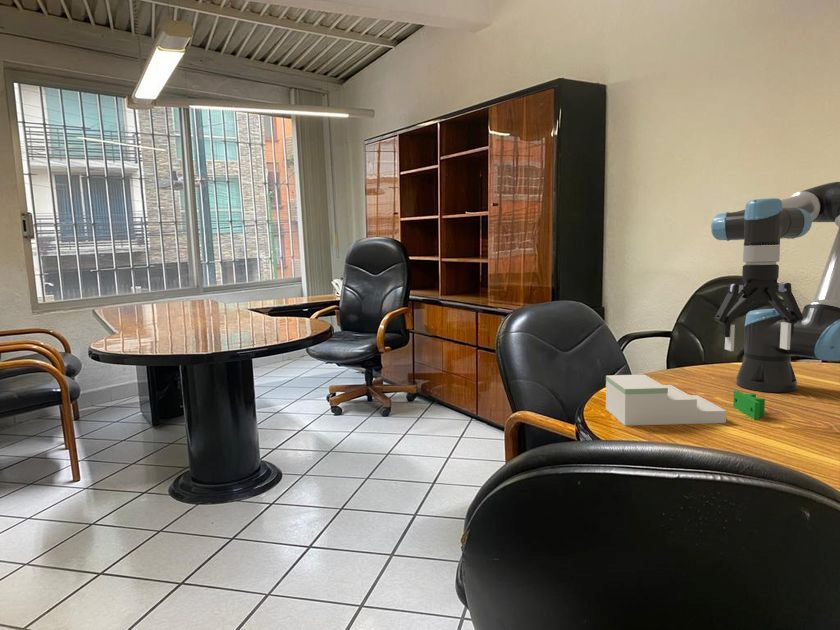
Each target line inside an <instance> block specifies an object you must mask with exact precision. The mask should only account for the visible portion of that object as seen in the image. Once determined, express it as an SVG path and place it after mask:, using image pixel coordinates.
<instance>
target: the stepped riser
mask: <svg viewBox="0 0 840 630" xmlns="http://www.w3.org/2000/svg"><path fill="white" fill-rule="evenodd" d="M605 410H607V411H608V412H609V413H610V415H613V416H614V418H616V420H618V421H619V422H620V423H621V424H622V425H623V426H624V427H625V426H629V427H631V426H659V425H660V426H662V425H663V426H666V425H700V424H701V425H702V424H726V423H727V410H725V408H722V407H720V406H718V405H716V404H714V403H713V402H710V401H709V400H708V399H705V398H704V397H702V396H700V395H698V394H697V395H695V394H693V395H690V394H688V393H686V392H684V391H683V390H680V389H679V388H677V387H675V386H673V385H672V384H661V383H660V382H658V381H657V380H655V379H653V378H652V377H649V376H648V375H646V374H615V375H614V374H613V375H605Z"/></svg>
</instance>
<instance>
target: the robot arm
mask: <svg viewBox="0 0 840 630" xmlns="http://www.w3.org/2000/svg"><path fill="white" fill-rule="evenodd" d="M710 223H711V225H710V229H711V234H712V236H713V238H714V239H716V240H718V241H726V242H727V241H728V242H729V241H739V240H740V241H741V240H742V241H743V253H742V255H743V256H742V262H743V263H745V264H743V266H742V273H741V278H742V283H741V284H736V283H729V285H728V289H727V294H726V295H725V298H724V299H723V301H722V303H721V305H720V307H719V309H718V311H717V312H716V314H715V316H714V319H713V320H714V321H715V322H719V323H720V324H722V330H721V332H722V333H721V335H722V337H724V350H726V351H728V352H734V351H735V334H736V332H735V330H736V328H735V327H736V325H735V324H732V323H734V321H735V320H736V319H737V318H738V317H739V315H740V314H741V313H742V312H743V311H744V310H745V308H747V306H748V305H750V304H752V303H759V302H763V303H764V302H765V303H769V304H770V305H771V306H772V307H773V308H764V309H754V310H750V311H748V312H747V313H746V316H745V323H744V348H743V349H744V350H743V352H744V353H743V361H742V362H741V365H740V368H739V370H738V372H737V375H736V376H735V377H736V379H735V381H736V383H735V384H736V385H737V386H738V387H741V388H744V389H748V390H751V391H752V390H753V391H758V392H766V393H767V392H769V393H789V392H790V393H791V392H794V391H796V390H797V388H798V381H797V377H796V374H795V371H794V368H793V366H792V365H793V364H792V362H791V361H792V357H791V356H797V357H804V358H809V359H816V360H817V359H818V360H820V361H832V362H833V361H834V362H839V361H840V181H835V182H828V183H824V184H820V185H817V186H814V187H810V188H807V189H804V190H801V191H797V192H795V193H793V194H791V195H790V196H789V197H788V198H784V199H780V198H778V197H777V198H775V197H774V198H773V197H771V198H770V197H769V198H759V199H758V198H757V199H750V200H749V201H747V202H746V203H745V209H741V210H738V211H731V212H729V211H727V212H724V213H719V214H716V215H715V216H714V217H713V218H712V221H711V222H710ZM812 223H834V224H835V225H836V226H837V227H838V230H837V232H836V235H835V239H834V241H833V243H832V246H831V250H830V252H829V256H828V258H827V260H826V264H825V266H824V270H823V271H822V275H821V278H820V280H819V284H818V287H817V290H816V292H815V294H814V298H813V301H810V302H809V303H806V304H804V307H803V310H802V312H801V309H800V307H799V305H798V303H797V300H796V298H795V296H794V294H793V292H792V290H793V289H792V283H790V282H780V283H778V279H779V275H780V266H779V264H777V263H779V262H780V259H781V258H780V257H781V255H780V253H781V250H780V249H781V245H780V244H781V239H788V240H794V239H796V238H801V237H803V236H805V235H806V234H807V233H809V231H810V230H811V228H812ZM777 291H779V292H780V295H781V297H782V299H783V301H784V303H785V305H786V306H785V305H784V303H783V302H782V301H781V299H780V297H779V296H778V294H776V293H777ZM741 292H742V293H743V294H741V296H740V297H739V298H738V295H739V294H740V293H741ZM737 298H738V301H736V299H737ZM735 301H736V303H735ZM734 303H735V304H734Z"/></svg>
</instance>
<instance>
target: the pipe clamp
mask: <svg viewBox="0 0 840 630" xmlns="http://www.w3.org/2000/svg"><path fill="white" fill-rule="evenodd" d="M732 403H733V404H732V407H733V408H734V407H735V409H736V410H737V409H738V410H737V411H739V412H741V413H742V414H744V415H745V414H746V415H745V416H747V417H749V418H750V417H751V420H753V419H754V420H753V421H760V417H765V409H766V408H765V407H766V399H765V398H764V397H763V398H759V397H757V394H756V393H744V392H742V391H740V390H733V402H732Z"/></svg>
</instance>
